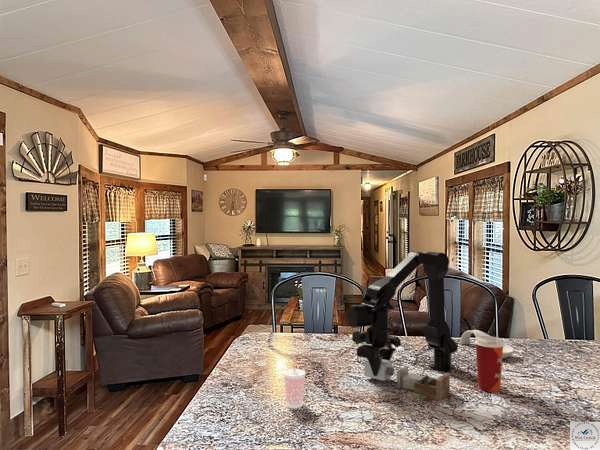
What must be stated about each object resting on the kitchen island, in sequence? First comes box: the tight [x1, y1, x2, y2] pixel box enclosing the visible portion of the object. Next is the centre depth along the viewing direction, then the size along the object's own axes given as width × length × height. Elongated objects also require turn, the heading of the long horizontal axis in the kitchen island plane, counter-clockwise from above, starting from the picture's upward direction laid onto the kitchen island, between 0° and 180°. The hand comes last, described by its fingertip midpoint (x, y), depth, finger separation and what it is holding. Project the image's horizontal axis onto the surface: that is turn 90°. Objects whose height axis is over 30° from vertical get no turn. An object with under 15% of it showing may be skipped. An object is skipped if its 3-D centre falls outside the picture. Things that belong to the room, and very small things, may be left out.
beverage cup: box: [283, 353, 306, 409], centre depth 123 cm, size 6×6×14 cm
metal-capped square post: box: [396, 366, 434, 391], centre depth 134 cm, size 7×10×5 cm
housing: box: [407, 372, 451, 402], centre depth 131 cm, size 10×9×6 cm
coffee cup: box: [474, 335, 505, 393], centre depth 135 cm, size 8×8×15 cm
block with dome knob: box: [363, 358, 395, 382], centre depth 142 cm, size 5×8×6 cm, turn 52°
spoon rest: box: [459, 329, 515, 359], centre depth 172 cm, size 24×12×7 cm, turn 20°
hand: (379, 373), depth 142 cm, fingers closed on block with dome knob, 5 cm apart
